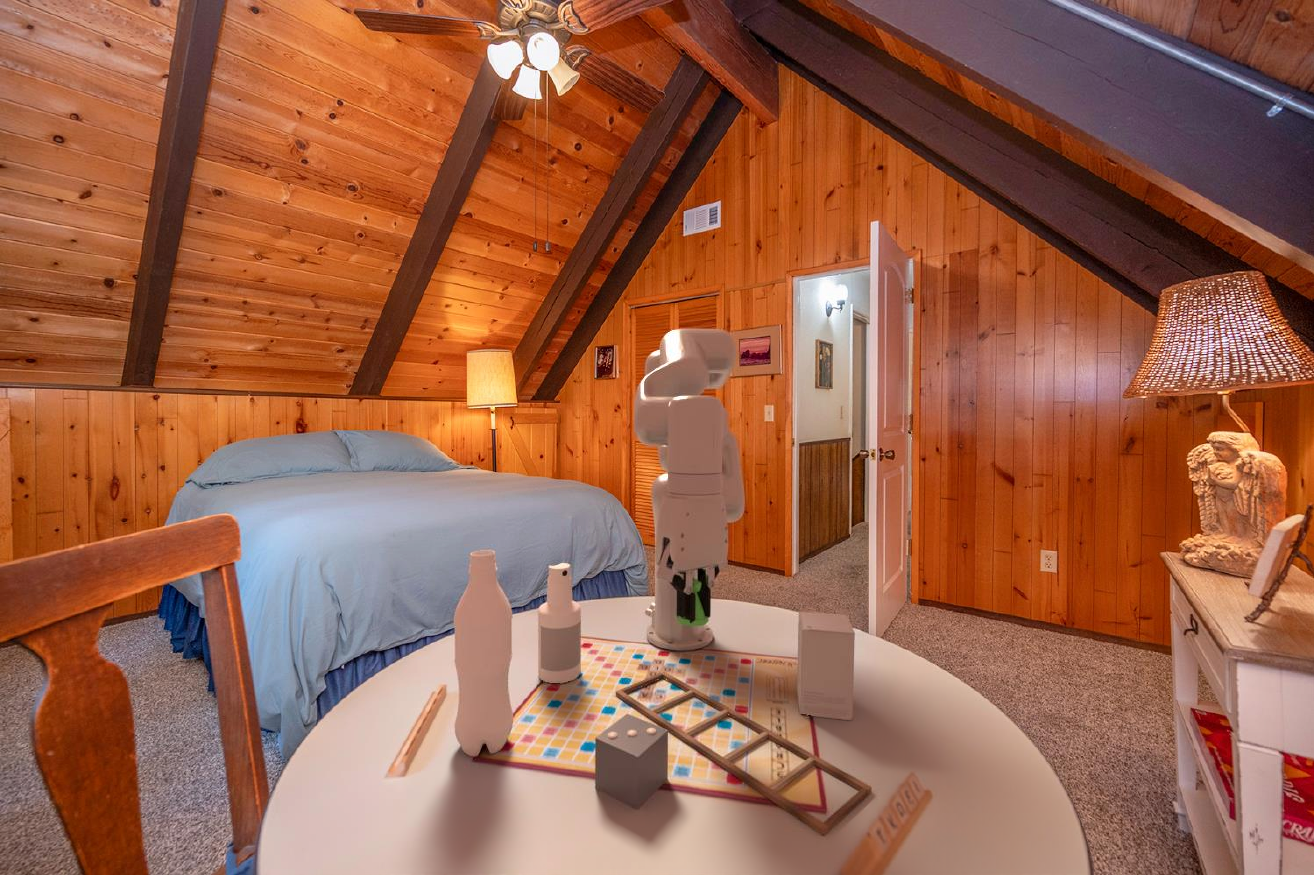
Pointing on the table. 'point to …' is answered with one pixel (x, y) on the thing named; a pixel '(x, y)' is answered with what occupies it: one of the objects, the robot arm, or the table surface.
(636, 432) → the robot arm
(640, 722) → the die
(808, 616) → the supplement box
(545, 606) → the spray bottle
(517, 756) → the table surface
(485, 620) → the water bottle
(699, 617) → the game piece
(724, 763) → the track board
